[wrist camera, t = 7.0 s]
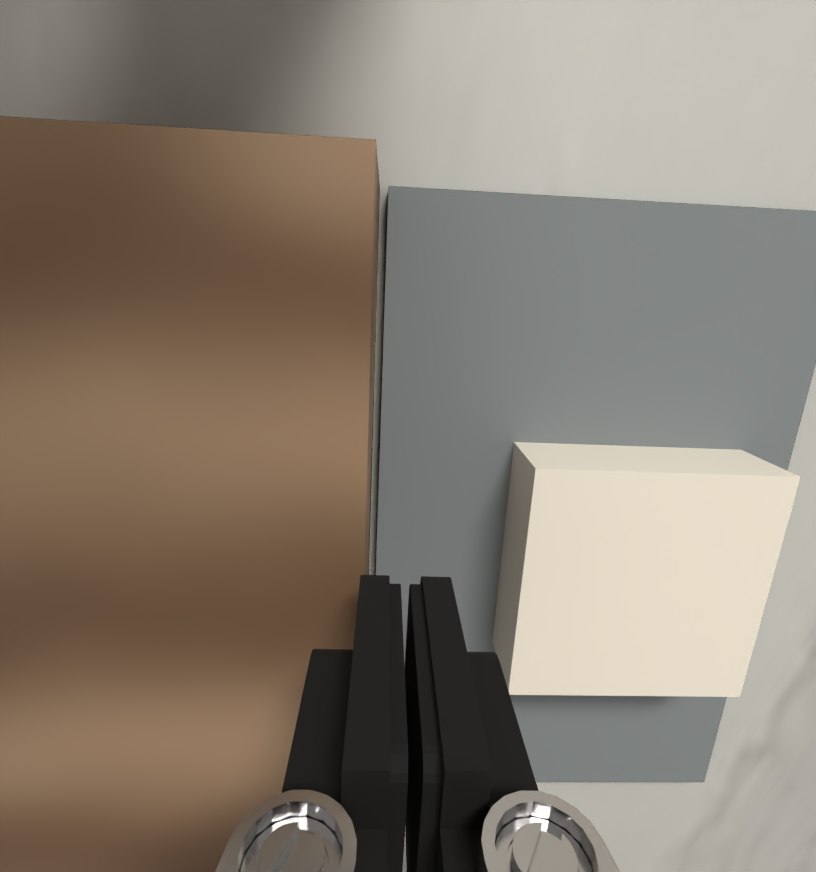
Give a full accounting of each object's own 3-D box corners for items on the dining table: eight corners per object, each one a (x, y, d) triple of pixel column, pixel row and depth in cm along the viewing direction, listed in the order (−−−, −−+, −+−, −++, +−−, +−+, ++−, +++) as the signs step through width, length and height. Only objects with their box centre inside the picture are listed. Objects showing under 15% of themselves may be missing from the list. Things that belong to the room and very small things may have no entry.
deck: (-79, 162, 11) (-324, 95, 7) (379, 189, 12) (375, 140, 8) (39, 769, 16) (-72, 923, 12) (362, 770, 16) (355, 918, 12)
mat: (388, 189, 12) (388, 185, 11) (841, 215, 12) (855, 213, 12) (369, 770, 16) (368, 781, 16) (696, 771, 17) (704, 781, 16)
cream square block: (800, 477, 11) (741, 449, 13) (535, 468, 11) (513, 442, 13) (739, 696, 13) (694, 644, 15) (508, 694, 13) (492, 641, 15)
